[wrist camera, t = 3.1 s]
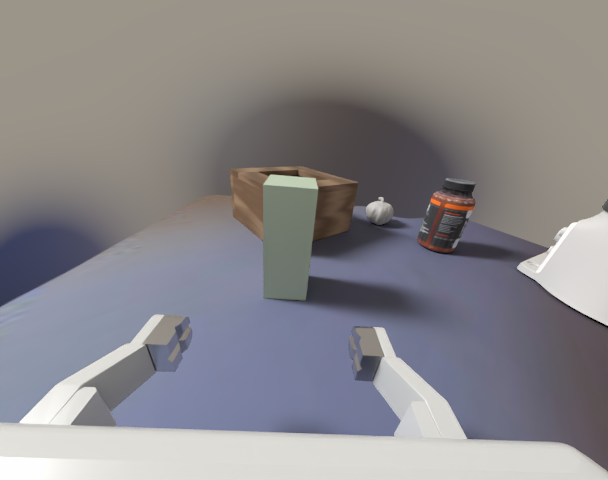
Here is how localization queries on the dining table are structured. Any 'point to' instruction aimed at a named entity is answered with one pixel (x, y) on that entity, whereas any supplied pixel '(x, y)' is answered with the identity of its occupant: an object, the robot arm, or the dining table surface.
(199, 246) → the dining table surface
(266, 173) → the box
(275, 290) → the green peg
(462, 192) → the supplement bottle
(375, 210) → the garlic
